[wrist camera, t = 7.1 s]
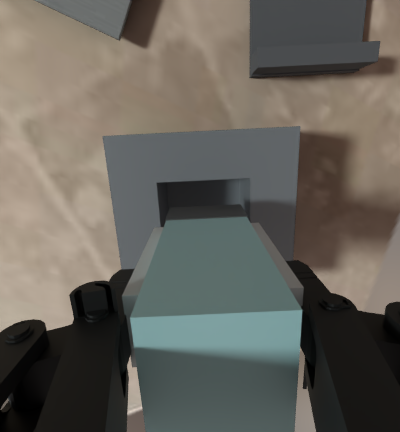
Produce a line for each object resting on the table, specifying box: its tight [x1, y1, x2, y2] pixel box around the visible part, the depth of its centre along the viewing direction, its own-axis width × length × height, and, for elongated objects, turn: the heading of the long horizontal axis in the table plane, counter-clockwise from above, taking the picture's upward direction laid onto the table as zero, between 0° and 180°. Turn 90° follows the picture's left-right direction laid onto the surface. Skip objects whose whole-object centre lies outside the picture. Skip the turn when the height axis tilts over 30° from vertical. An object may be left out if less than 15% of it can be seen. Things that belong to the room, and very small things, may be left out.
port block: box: [103, 126, 300, 269], centre depth 21 cm, size 12×12×6 cm
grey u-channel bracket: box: [250, 0, 380, 78], centre depth 19 cm, size 8×8×3 cm
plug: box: [130, 204, 302, 432], centre depth 12 cm, size 4×4×10 cm
